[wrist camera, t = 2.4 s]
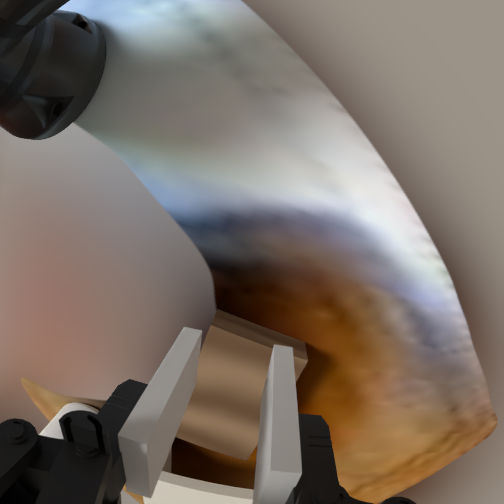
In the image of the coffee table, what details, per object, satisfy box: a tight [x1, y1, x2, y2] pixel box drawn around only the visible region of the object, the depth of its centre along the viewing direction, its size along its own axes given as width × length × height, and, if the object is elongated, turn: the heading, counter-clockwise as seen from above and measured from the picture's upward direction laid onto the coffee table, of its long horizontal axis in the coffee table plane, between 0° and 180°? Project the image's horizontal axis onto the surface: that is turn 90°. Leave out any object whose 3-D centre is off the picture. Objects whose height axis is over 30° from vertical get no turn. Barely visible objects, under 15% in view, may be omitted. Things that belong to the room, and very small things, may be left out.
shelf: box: [143, 446, 254, 504], centre depth 31 cm, size 15×14×8 cm
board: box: [175, 309, 308, 461], centre depth 30 cm, size 15×9×4 cm, turn 158°
